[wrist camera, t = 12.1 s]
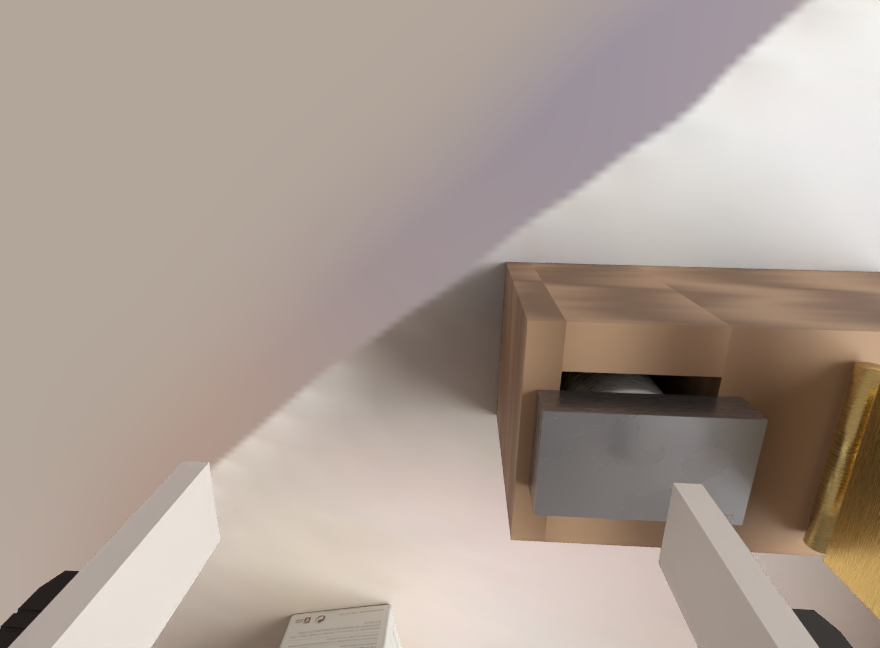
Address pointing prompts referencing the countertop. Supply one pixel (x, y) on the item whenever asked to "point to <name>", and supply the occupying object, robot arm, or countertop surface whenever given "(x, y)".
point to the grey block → (638, 448)
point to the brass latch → (852, 492)
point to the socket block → (690, 372)
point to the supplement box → (343, 629)
